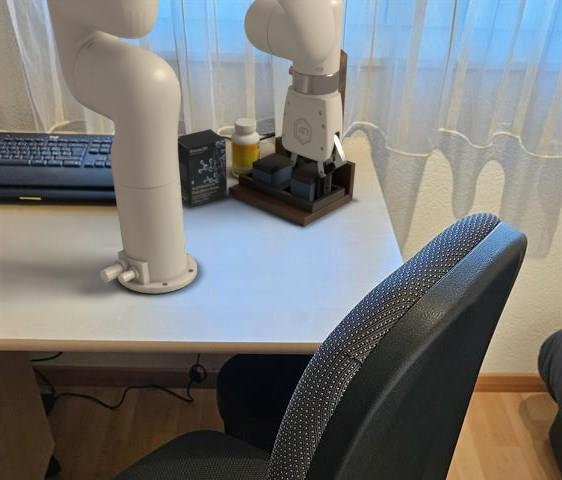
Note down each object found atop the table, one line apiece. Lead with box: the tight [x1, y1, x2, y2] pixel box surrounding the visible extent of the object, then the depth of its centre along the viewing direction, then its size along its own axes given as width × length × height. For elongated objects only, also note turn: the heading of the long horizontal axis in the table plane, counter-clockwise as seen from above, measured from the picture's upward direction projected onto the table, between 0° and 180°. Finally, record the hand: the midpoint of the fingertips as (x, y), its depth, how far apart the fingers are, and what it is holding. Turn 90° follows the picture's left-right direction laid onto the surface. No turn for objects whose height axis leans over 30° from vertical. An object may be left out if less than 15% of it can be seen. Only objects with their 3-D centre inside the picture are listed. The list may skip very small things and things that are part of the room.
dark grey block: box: [252, 152, 292, 187], centre depth 138 cm, size 6×4×4 cm
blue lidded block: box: [290, 162, 332, 201], centre depth 134 cm, size 6×4×4 cm
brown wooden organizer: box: [228, 135, 357, 227], centre depth 136 cm, size 14×18×7 cm
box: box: [178, 128, 228, 208], centre depth 134 cm, size 8×6×11 cm
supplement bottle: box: [230, 117, 261, 179], centre depth 142 cm, size 5×5×10 cm
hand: (310, 191), depth 135 cm, fingers closed on blue lidded block, 4 cm apart
